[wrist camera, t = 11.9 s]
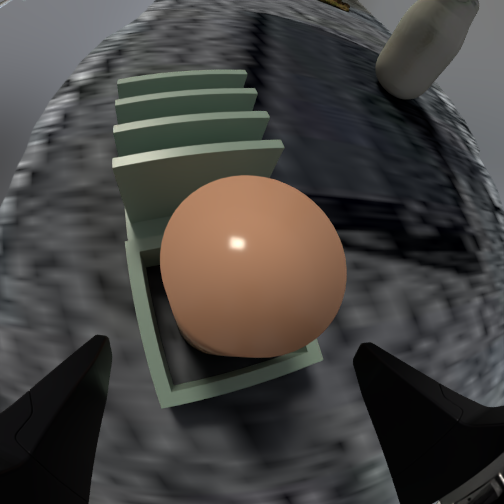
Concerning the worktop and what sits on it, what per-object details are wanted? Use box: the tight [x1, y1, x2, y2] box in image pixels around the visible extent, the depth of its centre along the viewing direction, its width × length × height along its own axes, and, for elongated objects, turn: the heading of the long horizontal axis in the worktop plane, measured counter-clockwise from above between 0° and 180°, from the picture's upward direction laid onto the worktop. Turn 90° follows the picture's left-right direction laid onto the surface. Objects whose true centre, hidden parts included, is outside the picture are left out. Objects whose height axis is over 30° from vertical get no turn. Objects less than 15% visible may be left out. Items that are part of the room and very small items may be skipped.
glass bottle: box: [376, 0, 479, 99], centre depth 24 cm, size 10×10×28 cm
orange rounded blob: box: [160, 175, 346, 358], centre depth 13 cm, size 6×6×11 cm
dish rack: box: [113, 70, 323, 408], centre depth 16 cm, size 10×20×8 cm, turn 17°
